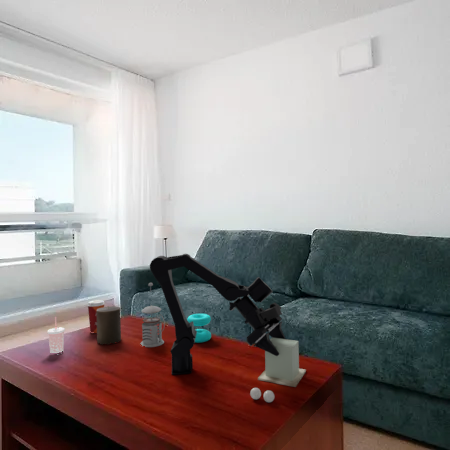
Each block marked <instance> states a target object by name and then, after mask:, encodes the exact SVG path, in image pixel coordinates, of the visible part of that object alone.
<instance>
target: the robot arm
mask: <svg viewBox="0 0 450 450" xmlns="http://www.w3.org/2000/svg"><path fill="white" fill-rule="evenodd" d="M182 267H183V268H185V269H187V270H188V271H190V272H191V273H193V274H194V275H196V276H197V277H199V278H201V279H202V280H203V281H205V282H206V283H208V284H209V285H211V286H212V287H213V288H214V289H215V290H216V291H217V292H218V293H219V295H220V296H222V297H223V298H224V299H225V300H226V301H228V302H229V307H228V310H229V311H234V310H235V309H236V310H237V312H238V313H239V314H240V315H241V316H242V317H243V319H244V321H243V322H244V323H245V325H249V326H250V327H251V329H253V330H252V331H251V332H250V333H249V335H247V337H246V343H247V344H248V345H249V346H250V347H252V346H253V347H254V348H255V347H256V348H258V349H260V350H262V351H264V352H265V351H267V352H269V353H271V354H273V355H275V356H278V355H279V352H278V351H277V349H276V348H275V346H274V345H273V343H272V342H271V341H270V339H271V338H272V337H273V338H281V339H286V336H285V334H284V332H283V330H282V329H283V328H282V324H283V321H282V320H283V318H282V317H281V315H283V312H282V306H280V305H279V304H278V303H277V302H273V303H271V304H270V305H269V308H267V309H265V310H264V308H263V307H258V306H257V304H255V303H260V304H261V303H262V302H263V301H264V300H265V299H267V298H268V297H269V296H270V295H271V294H272V293H273V292H274V290H272V289H271V287H270V286H269V285H268V284H267V283H266V282H264V280H263V279H261V277H260V276H257V277H256V278H255V279H254V281H253V282H252V283H251V284H249V286H246V285H241V284H239V283H237V282H236V281H234V280H232V279H230V278H227V277H225V276H223V275H219V274H218V273H216V272H214V271H213V270H211V269H210V268H208V267H207V266H205V265H204V264H203V263H201V262H199V261H198V260H196V259H195V258H193V257H192V256H191V255H190V254H188V253H182V254H179V255H173V256H168V257H167V256H165V255H159V256H157V257H155V258H153V259H152V260H151V261H150V264H149V269H150V272H151V274H152V276H153V277H154V279H155V280H156V281H157V282H158V284H159V285H160V287H161V290H162V293H163V297H164V299H165V302H166V304H167V307H168V310H169V314H170V316H171V318H172V322H173V323H174V324H173V325H174V333H175V340H174V341H173V344H172V347H171V348H170V354H171V375H174V376H175V375H187V374H192V372H193V371H192V370H193V367H194V365H193V354H192V353H191V350H192V349H193V348H194V345H195V343H196V342H195V338H196V333H197V331H196V328H195V326H194V324H193V321H192V322H190V323H189V322H188V321H187V317H186V315H185V312H184V309H183V307H182V304H181V300H180V298H179V296H178V293H177V290H176V287H175V284H174V281H173V274H172V273H173V272H172V270H175V269H178V268H182ZM253 301H254V302H255V303H254V302H253ZM270 337H271V338H270Z"/></svg>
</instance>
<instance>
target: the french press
mask: <svg viewBox="0 0 450 450" xmlns="http://www.w3.org/2000/svg"><path fill="white" fill-rule="evenodd" d="M147 286H148V287H149V288H150V289H149V290H150V291H152V286H154V284H153V282H149V283H148V285H147ZM161 310H162V308H161V307H160V306H155V305H150V306H149V305H148V306H145V307H144V308H143V309H141V313H142V314H146V315H148V314H150V317H146V318H143V320H142V321H143V323H141V330H142V331H141V332H142V334H141V335H142V336H141V338H142V341H141V342H140V343H139V345H140V344H141V345H142V346H141V345H140V346H141V347H143V346H145V348H155V347H156V348H157V347H159V346H162V345H163V344H164V343H165V341H164V340H163V338H162V336H163V335H162V332H163V331H164V330H165V325H166V323H165V318H164V317H163V315H162V314H161V313H160V314H159V315H158V314H157V315H156V316H155V317H152V316H153V314H156V313H159V312H161ZM161 318H162V319H163V323H162V319H161ZM162 324H163V325H162ZM162 326H163V328H162Z"/></svg>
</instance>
